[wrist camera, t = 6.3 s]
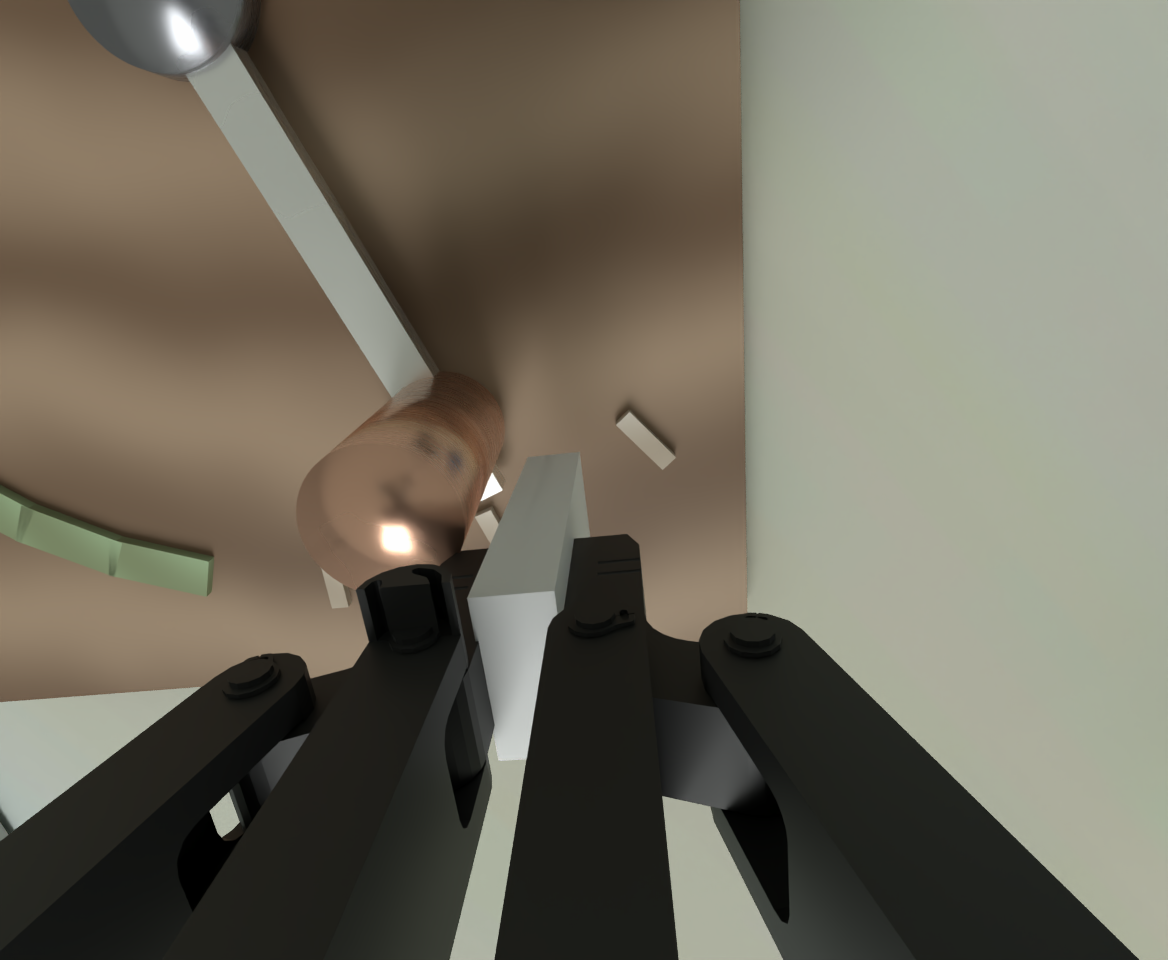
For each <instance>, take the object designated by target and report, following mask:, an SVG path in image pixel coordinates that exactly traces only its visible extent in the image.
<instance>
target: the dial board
mask: <svg viewBox="0 0 1168 960" xmlns="http://www.w3.org/2000/svg"><path fill="white" fill-rule="evenodd" d="M247 53H248V55H249V57H250V58H251V60H252V62H253V63H254V65H255V67H256V68H257V70H258V72H259V73H260V75H261V77H262V78H263V80H264V82H265V83H266V85H267V86H268V88H269V90H270V91H271V93H272V95H273V96H274V98H275V100H276V101H277V103H278V105H279V106H280V108H281V110H282V111H283V113H284V115H285V116H286V118H287V120H288V121H289V123H290V124H291V126H292V128H293V129H294V131H295V133H296V134H297V136H298V138H299V139H300V141H301V143H302V144H303V146H304V148H305V149H306V151H307V153H308V154H309V156H310V158H311V159H312V161H313V163H314V164H315V166H316V167H317V169H318V171H319V172H320V174H321V176H322V177H323V179H324V181H325V182H326V184H327V186H328V187H329V189H330V191H331V192H332V194H333V196H334V197H335V199H336V201H337V202H338V204H339V206H340V207H341V209H342V210H343V212H344V214H345V215H346V217H347V219H348V220H349V222H350V224H351V225H352V227H353V229H354V230H355V232H356V234H357V235H358V237H359V239H360V240H361V242H362V244H363V245H364V247H365V249H366V250H367V252H368V253H369V255H370V257H371V258H372V260H373V262H374V263H375V265H376V267H377V268H378V270H379V272H380V273H381V275H382V277H383V278H384V280H385V282H386V283H387V285H388V287H389V288H390V290H391V292H392V293H393V295H394V296H395V298H396V300H397V301H398V303H399V305H400V306H401V308H402V310H403V311H404V313H405V315H406V316H407V318H408V320H409V321H410V323H411V325H412V326H413V328H414V330H415V331H416V333H417V335H418V336H419V338H420V339H421V341H422V343H423V344H424V346H425V348H426V349H427V351H428V353H429V354H430V356H431V358H432V359H433V361H434V363H435V364H436V366H437V368H438V369H439V371H440V372H442V371H447V372H455V373H459V374H462V375H465V376H468V377H470V378H472V379H474V380H476V381H477V382H478V383H480V384H481V385H483V386H484V387H485V388H486V389H487V390H488V391H489V392H490V393H491V394H492V396H493V397H494V399H495V400H496V401H497V403H498V405H499V407H500V409H501V412H502V415H503V419H504V425H505V436H504V442H503V446H502V449H501V451H500V454H499V456H498V459H497V461H496V465H497V467H498V468H499V470H500V472H501V473H502V475H503V477H504V478H505V480H506V482H505V485H504V488H503V490H502V491H500V492H498V493H496V494H494V495H492V496H490V497H488V498H486V499H484V500H482V501H480V504H479V506H478V509H477V511H476V514H475V516H474V519H473V521H472V524H471V527H470V529H469V532H468V534H467V537H466V539H465V542H464V544H463V547H462V549H461V551H464V550H475V549H486V548H489V546H490V544H491V542H492V539H493V537H494V535H495V532H496V530H497V528H498V525H499V523H500V521H501V518H502V516H503V514H504V511H505V509H506V507H507V504H508V502H509V500H510V497H511V495H512V493H513V490H514V488H515V486H516V483H517V481H518V479H519V477H520V474H521V472H522V470H523V467H524V465H525V463H526V460H527V458H528V457H534V456H544V455H554V454H564V453H574V452H580V459H581V467H582V475H583V483H584V491H585V499H586V507H587V515H588V523H589V531H590V537H597V536H608V535H619V534H628V535H629V536H630V537H631V538H632V539H634V540H635V541H636V542H637V543H638V544H639V547H640V557H641V567H642V578H643V588H644V598H645V608H646V618H647V622H648V623H649V624H650V625H651V626H652V627H653V628H654V629H656V630H657V631H659V632H660V633H662V634H665V635H667V636H670V637H673V638H677V639H682V640H687V641H695V642H699V639H700V636H701V634H702V631H703V629H705V628H706V627H707V626H709V625H710V624H711V623H712V622H714V621H716V620H719V619H721V618H724V617H727V616H730V615H737V614H744V613H747V560H746V478H745V397H744V315H743V233H742V152H741V70H740V0H261V11H260V19H259V25H258V29H257V32H256V35H255V38H254V41H253V43H252V45H251V47H250V49H249V50H248V52H247ZM391 398H392V397H391V396H390V394H389V392H388V391H387V389H386V388H385V386H384V385H383V383H382V381H381V380H380V378H379V377H378V375H377V374H376V372H375V370H374V369H373V367H372V366H371V364H370V363H369V361H368V360H367V358H366V356H365V355H364V353H363V352H362V350H361V349H360V347H359V345H358V344H357V342H356V341H355V339H354V338H353V336H352V334H351V333H350V331H349V330H348V328H347V327H346V325H345V324H344V322H343V320H342V319H341V317H340V316H339V314H338V313H337V311H336V309H335V308H334V306H333V305H332V303H331V302H330V300H329V298H328V297H327V295H326V294H325V292H324V291H323V289H322V288H321V286H320V284H319V283H318V281H317V280H316V278H315V277H314V275H313V273H312V272H311V270H310V269H309V267H308V266H307V264H306V262H305V261H304V259H303V258H302V256H301V255H300V253H299V252H298V250H297V248H296V247H295V245H294V244H293V242H292V241H291V239H290V237H289V236H288V234H287V233H286V231H285V230H284V228H283V226H282V225H281V223H280V222H279V220H278V219H277V217H276V216H275V214H274V212H273V211H272V209H271V208H270V206H269V205H268V203H267V201H266V200H265V198H264V197H263V195H262V194H261V192H260V191H259V189H258V187H257V186H256V184H255V183H254V181H253V180H252V178H251V176H250V175H249V173H248V172H247V170H246V169H245V167H244V165H243V164H242V162H241V161H240V159H239V158H238V156H237V155H236V153H235V151H234V150H233V148H232V147H231V145H230V144H229V142H228V140H227V139H226V137H225V136H224V134H223V133H222V131H221V129H220V128H219V126H218V125H217V123H216V122H215V120H214V119H213V117H212V115H211V114H210V112H209V111H208V109H207V108H206V106H205V104H204V103H203V101H202V100H201V98H200V97H199V95H198V93H197V92H196V90H195V89H194V87H193V86H192V84H191V83H190V82H182V81H177V80H173V79H169V78H166V77H163V76H160V75H157V74H154V73H152V72H149V71H146V70H143V69H140V68H138V67H135V66H133V65H130V64H128V63H126V62H124V61H123V60H121V59H119V58H117V57H116V56H114V55H113V54H112V53H110V52H109V51H107V50H106V49H105V48H104V47H103V46H102V45H100V44H99V43H98V42H97V41H96V40H95V39H94V38H93V37H92V36H91V34H90V33H89V32H88V31H87V30H86V29H85V27H84V26H83V25H82V23H81V22H80V21H79V19H78V18H77V16H76V15H75V13H74V11H73V10H72V8H71V6H70V4H69V2H68V0H0V702H6V701H19V700H33V699H46V698H59V697H72V696H85V695H98V694H111V693H124V692H138V691H151V690H164V689H177V688H190V687H202V686H204V685H205V684H206V683H208V682H209V681H210V680H212V679H213V678H214V677H216V676H217V675H219V674H221V673H222V672H224V671H225V670H227V669H229V668H230V667H232V666H234V665H237V664H239V663H242V662H244V661H245V660H246V659H248V658H251V657H254V656H258V655H259V656H261V655H262V654H268V653H272V654H274V653H290V654H294V655H298V656H301V658H302V659H303V660H304V661H305V663H306V665H307V668H308V672H309V675H310V678H314V677H318V676H322V675H326V674H330V673H333V672H337V671H341V670H345V669H348V668H351V667H353V666H354V664H355V663H356V661H357V660H358V658H359V657H360V655H361V654H362V652H363V650H364V649H365V647H366V646H367V644H368V643H369V641H368V637H367V633H366V629H365V625H364V621H363V617H362V613H361V609H360V605H359V601H358V597H357V593H356V590H354V589H352V588H350V587H347V586H345V585H343V584H342V583H340V582H338V581H337V580H335V579H334V578H332V577H331V576H330V575H328V574H327V573H326V572H325V571H324V570H323V569H322V568H321V567H320V566H319V565H318V564H317V563H316V562H315V561H314V559H313V558H312V557H311V555H310V554H309V552H308V551H307V549H306V547H305V545H304V543H303V541H302V539H301V536H300V533H299V530H298V525H297V520H296V504H297V498H298V494H299V490H300V487H301V485H302V483H303V481H304V479H305V477H306V476H307V474H308V472H309V471H310V470H311V469H312V468H313V467H314V465H315V464H317V463H318V462H319V461H320V460H321V459H322V458H323V457H325V456H326V455H327V454H328V453H329V452H330V451H332V450H333V449H334V448H335V447H336V446H337V445H338V444H340V443H341V442H342V441H343V440H344V439H345V438H347V437H348V436H349V435H350V434H351V433H352V432H353V431H355V430H356V429H357V428H358V427H359V426H360V425H361V424H363V423H364V422H365V421H366V420H367V419H368V418H370V417H371V416H372V415H373V414H374V413H375V412H376V411H378V410H379V409H380V408H381V407H382V406H383V405H385V404H386V403H387V402H388V401H389V400H390V399H391Z"/></svg>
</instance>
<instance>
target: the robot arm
mask: <svg viewBox="0 0 1168 960" xmlns="http://www.w3.org/2000/svg"><path fill="white" fill-rule="evenodd" d="M356 593H357V597H358V601H359V605H360V609H361V613H362V617H363V621H364V625H365V629H366V633H367V637H368V641H369V643H368V644H367V646H366V647H365V649H364V650H363V652H362V654H361V655H360V657H359V658H358V660H357V661H356V663H355V664H354V666H353V667H351V668H348V669H345V670H341V671H337V672H333V673H330V674H326V675H322V676H318V677H314V678H310V675H309V672H308V668H307V665H306V663H305V661H304V660H303V659H302V658H301V656H298V655H294V654H290V653H274V654H272V653H268V654H262V655H261V656H259V655H258V656H254V657H251V658H248V659H246V660H245V661H244V662H242V663H239V664H237V665H234V666H232V667H230V668H229V669H227V670H225V671H224V672H222V673H221V674H219V675H217V676H216V677H214V678H213V679H212V680H210V681H209V682H208V683H206V684H205V685H204V686H202V687H201V688H200V689H198V690H197V691H196V692H195V693H193V694H192V695H191V696H189V697H188V698H187V699H185V700H184V701H183V702H181V703H180V704H179V705H178V706H176V707H175V708H174V709H172V710H171V711H170V712H168V713H167V714H166V715H164V716H163V717H162V718H161V719H159V720H158V721H157V722H155V723H154V724H153V725H151V726H150V727H149V728H147V729H146V730H145V731H144V732H142V733H141V734H140V735H138V736H137V737H136V738H134V739H133V740H132V741H130V742H129V743H128V744H127V745H125V746H124V747H123V748H121V749H120V750H119V751H117V752H116V753H115V754H113V755H112V756H111V757H110V758H108V759H107V760H106V761H104V762H103V763H102V764H100V765H99V766H98V767H96V768H95V769H94V770H93V771H91V772H90V773H89V774H87V775H86V776H85V777H83V778H82V779H81V780H79V781H78V782H77V783H76V784H74V785H73V786H72V787H70V788H69V789H68V790H66V791H65V792H64V793H62V794H61V795H60V796H59V797H57V798H56V799H55V800H53V801H52V802H51V803H49V804H48V805H47V806H45V807H44V808H43V809H42V810H40V811H39V812H38V813H36V814H35V815H34V816H32V817H31V818H30V819H28V820H27V821H26V822H25V823H23V824H22V825H21V826H19V827H18V828H17V829H15V830H14V831H13V832H11V833H10V834H9V835H8V836H6V837H5V838H4V839H2V840H1V841H0V960H449V959H450V955H451V951H452V947H453V943H454V939H455V935H456V931H457V927H458V923H459V919H460V915H461V911H462V907H463V902H464V898H465V894H466V890H467V886H468V882H469V878H470V874H471V870H472V866H473V862H474V858H475V854H476V850H477V846H478V842H479V838H480V834H481V830H482V826H483V822H484V817H485V813H486V809H487V805H488V801H489V797H490V793H491V789H492V775H491V770H490V765H489V760H488V755H487V754H488V750H489V746H490V742H491V738H492V734H494V739H495V744H496V750H497V755H498V760H499V761H505V760H520V759H527V760H526V766H525V773H524V779H523V785H522V791H521V798H520V804H519V810H518V816H517V823H516V829H515V835H514V841H513V848H512V854H511V860H510V866H509V873H508V879H507V885H506V891H505V898H504V904H503V910H502V916H501V923H500V929H499V935H498V941H497V948H496V954H495V960H678V950H677V940H676V930H675V920H674V910H673V900H672V890H671V880H670V870H669V860H668V850H667V840H666V830H665V820H664V810H663V800H662V796H665V797H670V798H674V799H679V800H684V801H688V802H693V803H697V804H702V805H707V806H711V810H712V814H713V819H714V822H715V824H716V826H717V828H718V830H719V832H720V834H721V836H722V838H723V840H724V842H725V844H726V846H727V848H728V850H729V852H730V854H731V856H732V858H733V860H734V862H735V864H736V866H737V868H738V870H739V872H740V874H741V876H742V878H743V880H744V882H745V884H746V886H747V888H748V890H749V892H750V894H751V896H752V898H753V900H754V902H755V904H756V906H757V908H758V910H759V912H760V914H761V916H762V918H763V920H764V922H765V924H766V926H767V928H768V930H769V932H770V934H771V936H772V938H773V940H774V942H775V944H776V946H777V948H778V950H779V952H780V954H781V956H782V958H783V960H1139V959H1138V958H1137V957H1136V956H1135V955H1134V954H1133V953H1132V952H1131V951H1130V950H1129V949H1128V948H1127V947H1126V946H1125V945H1124V944H1123V943H1122V942H1121V941H1120V940H1119V939H1118V938H1117V937H1116V936H1115V935H1113V934H1112V933H1111V932H1110V931H1109V930H1108V929H1107V928H1106V927H1105V926H1104V925H1103V924H1102V923H1101V922H1100V921H1099V920H1098V919H1097V918H1096V917H1095V916H1094V915H1093V914H1092V913H1091V912H1090V911H1089V910H1088V909H1087V908H1086V907H1085V906H1084V905H1083V904H1082V903H1081V902H1080V901H1079V900H1078V899H1077V898H1076V897H1075V896H1074V895H1073V894H1072V893H1071V892H1070V891H1069V890H1068V889H1067V888H1066V887H1065V886H1063V885H1062V884H1061V883H1060V882H1059V881H1058V880H1057V879H1056V878H1055V877H1054V876H1053V875H1052V874H1051V873H1050V872H1049V871H1048V870H1047V869H1046V868H1045V867H1044V866H1043V865H1042V864H1041V863H1040V862H1039V861H1038V860H1037V859H1036V858H1035V857H1034V856H1033V855H1032V854H1031V853H1030V852H1029V851H1028V850H1027V849H1026V848H1025V847H1024V846H1023V845H1022V844H1021V843H1020V842H1019V841H1018V840H1017V839H1016V838H1015V837H1013V836H1012V835H1011V834H1010V833H1009V832H1008V831H1007V830H1006V829H1005V828H1004V827H1003V826H1002V825H1001V824H1000V823H999V822H998V821H997V820H996V819H995V818H994V817H993V816H992V815H991V814H990V813H989V812H988V811H987V810H986V809H985V808H984V807H983V806H982V805H981V804H980V803H979V802H978V801H977V800H976V799H975V798H974V797H973V796H972V795H971V794H970V793H969V792H968V791H967V790H966V789H965V788H963V787H962V786H961V785H960V784H959V783H958V782H957V781H956V780H955V779H954V778H953V777H952V776H951V775H950V774H949V773H948V772H947V771H946V770H945V769H944V768H943V767H942V766H941V765H940V764H939V763H938V762H937V761H936V760H935V759H934V758H933V757H932V756H931V755H930V754H929V753H928V752H927V751H926V750H925V749H924V748H923V747H922V746H921V745H920V744H919V743H918V742H917V741H916V740H915V739H913V738H912V737H911V736H910V735H909V734H908V733H907V732H906V731H905V730H904V729H903V728H902V727H901V726H900V725H899V724H898V723H897V722H896V721H895V720H894V719H893V718H892V717H891V716H890V715H889V714H888V713H887V712H886V711H885V710H884V709H883V708H882V707H881V706H880V705H879V704H878V703H877V702H876V701H875V700H874V699H873V698H872V697H871V696H870V695H869V694H868V693H867V692H866V691H865V690H863V689H862V688H861V687H860V686H859V685H858V684H857V683H856V682H855V681H854V680H853V679H852V678H851V677H850V676H849V675H848V674H847V673H846V672H845V671H844V670H843V669H842V668H841V667H840V666H839V665H838V664H837V663H836V662H835V661H834V660H833V659H832V658H831V657H830V656H829V655H828V654H827V653H826V652H825V651H824V650H823V649H822V648H821V647H820V646H819V645H818V644H817V643H816V642H815V641H813V640H812V639H811V638H810V637H809V636H808V635H807V634H806V633H805V632H804V631H803V630H802V629H801V628H799V627H798V626H796V625H795V624H793V623H792V622H790V621H788V620H785V619H782V618H779V617H776V616H773V615H769V614H762V613H759V614H756V613H744V614H737V615H730V616H727V617H724V618H721V619H719V620H716V621H714V622H712V623H711V624H710V625H709V626H707V627H706V628H705V629H703V631H702V634H701V636H700V639H699V642H695V641H687V640H682V639H677V638H673V637H670V636H667V635H665V634H662V633H660V632H659V631H657V630H656V629H654V628H653V627H652V626H651V625H650V624H649V623H648V622H647V618H646V608H645V598H644V588H643V578H642V567H641V557H640V547H639V544H638V543H637V542H636V541H635V540H634V539H632V538H631V537H630V536H629V535H628V534H619V535H608V536H597V537H590V531H589V523H588V515H587V507H586V499H585V491H584V483H583V475H582V467H581V459H580V452H574V453H564V454H554V455H544V456H534V457H528V458H527V460H526V463H525V465H524V467H523V470H522V472H521V474H520V477H519V479H518V481H517V483H516V486H515V488H514V490H513V493H512V495H511V497H510V500H509V502H508V504H507V507H506V509H505V511H504V514H503V516H502V518H501V521H500V523H499V525H498V528H497V530H496V532H495V535H494V537H493V539H492V542H491V544H490V546H489V548H486V549H475V550H464V551H460V553H455V554H454V555H452V556H451V557H450V558H448V559H447V560H446V561H444V562H443V563H442V564H441V565H440V566H437V565H434V564H415V565H409V566H403V567H398V568H395V569H392V570H388V571H385V572H382V573H380V574H378V575H376V576H374V577H372V578H370V579H368V580H366V581H365V582H364V583H363V584H362V585H360V586H359V587H358V588H357V589H356ZM228 792H229V793H230V796H231V799H232V802H233V804H234V807H235V810H236V813H237V815H238V818H239V821H240V823H239V824H238V825H237V826H236V827H235V828H234V829H233V830H232V831H230V832H229V833H228V834H226V835H225V836H223V837H222V838H221V836H220V835H219V834H218V833H217V830H216V828H215V825H214V822H213V820H212V817H211V814H210V812H209V811H210V810H211V809H212V808H213V807H214V806H215V805H216V804H217V803H218V802H219V801H220V800H221V799H222V798H223V797H224V796H225V795H226V794H227V793H228Z"/></svg>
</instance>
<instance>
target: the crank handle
mask: <svg viewBox="0 0 1168 960" xmlns="http://www.w3.org/2000/svg"><path fill="white" fill-rule="evenodd" d="M68 2H69V4H70V6H71V8H72V10H73V11H74V13H75V15H76V16H77V18H78V19H79V21H80V22H81V23H82V25H83V26H84V27H85V29H86V30H87V31H88V32H89V33H90V34H91V36H92V37H93V38H94V39H95V40H96V41H97V42H98V43H99V44H100V45H102V46H103V47H104V48H105V49H106V50H107V51H109V52H110V53H112V54H113V55H114V56H116V57H117V58H119V59H121V60H123V61H124V62H126V63H128V64H130V65H133V66H135V67H138V68H140V69H143V70H146V71H149V72H152V73H154V74H157V75H160V76H163V77H166V78H169V79H173V80H177V81H182V82H190V83H191V84H192V86H193V87H194V89H195V90H196V92H197V93H198V95H199V97H200V98H201V100H202V101H203V103H204V104H205V106H206V108H207V109H208V111H209V112H210V114H211V115H212V117H213V119H214V120H215V122H216V123H217V125H218V126H219V128H220V129H221V131H222V133H223V134H224V136H225V137H226V139H227V140H228V142H229V144H230V145H231V147H232V148H233V150H234V151H235V153H236V155H237V156H238V158H239V159H240V161H241V162H242V164H243V165H244V167H245V169H246V170H247V172H248V173H249V175H250V176H251V178H252V180H253V181H254V183H255V184H256V186H257V187H258V189H259V191H260V192H261V194H262V195H263V197H264V198H265V200H266V201H267V203H268V205H269V206H270V208H271V209H272V211H273V212H274V214H275V216H276V217H277V219H278V220H279V222H280V223H281V225H282V226H283V228H284V230H285V231H286V233H287V234H288V236H289V237H290V239H291V241H292V242H293V244H294V245H295V247H296V248H297V250H298V252H299V253H300V255H301V256H302V258H303V259H304V261H305V262H306V264H307V266H308V267H309V269H310V270H311V272H312V273H313V275H314V277H315V278H316V280H317V281H318V283H319V284H320V286H321V288H322V289H323V291H324V292H325V294H326V295H327V297H328V298H329V300H330V302H331V303H332V305H333V306H334V308H335V309H336V311H337V313H338V314H339V316H340V317H341V319H342V320H343V322H344V324H345V325H346V327H347V328H348V330H349V331H350V333H351V334H352V336H353V338H354V339H355V341H356V342H357V344H358V345H359V347H360V349H361V350H362V352H363V353H364V355H365V356H366V358H367V360H368V361H369V363H370V364H371V366H372V367H373V369H374V370H375V372H376V374H377V375H378V377H379V378H380V380H381V381H382V383H383V385H384V386H385V388H386V389H387V391H388V392H389V394H390V396H391V397H392V398H391V399H390V400H389V401H388V402H387V403H386V404H385V405H383V406H382V407H381V408H380V409H379V410H378V411H376V412H375V413H374V414H373V415H372V416H371V417H370V418H368V419H367V420H366V421H365V422H364V423H363V424H361V425H360V426H359V427H358V428H357V429H356V430H355V431H353V432H352V433H351V434H350V435H349V436H348V437H347V438H345V439H344V440H343V441H342V442H341V443H340V444H338V445H337V446H336V447H335V448H334V449H333V450H332V451H330V452H329V453H328V454H327V455H326V456H325V457H323V458H322V459H321V460H320V461H319V462H318V463H317V464H315V465H314V467H313V468H312V469H311V470H310V471H309V472H308V474H307V476H306V477H305V479H304V481H303V483H302V485H301V487H300V490H299V494H298V498H297V504H296V520H297V525H298V530H299V533H300V536H301V539H302V541H303V543H304V545H305V547H306V549H307V551H308V552H309V554H310V555H311V557H312V558H313V559H314V561H315V562H316V563H317V564H318V565H319V566H320V567H321V568H322V569H323V570H324V571H325V572H326V573H327V574H328V575H330V576H331V577H332V578H334V579H335V580H337V581H338V582H340V583H342V584H343V585H345V586H347V587H350V588H352V589H354V590H356V589H357V588H358V587H359V586H360V585H362V584H363V583H364V582H365V581H366V580H368V579H370V578H372V577H374V576H376V575H378V574H380V573H382V572H385V571H388V570H392V569H395V568H398V567H403V566H409V565H415V564H434V565H437V566H440V565H441V564H442V563H443V562H444V561H446V560H447V559H448V558H450V557H451V556H452V555H454V554H455V553H460V551H461V549H462V547H463V544H464V542H465V539H466V537H467V534H468V532H469V529H470V527H471V524H472V521H473V519H474V516H475V514H476V511H477V509H478V506H479V504H480V501H482V500H484V499H486V498H488V497H490V496H492V495H494V494H496V493H498V492H500V491H502V490H503V488H504V485H505V482H506V480H505V478H504V477H503V475H502V473H501V472H500V470H499V468H498V467H497V465H496V461H497V459H498V456H499V454H500V451H501V449H502V446H503V442H504V436H505V425H504V419H503V415H502V412H501V409H500V407H499V405H498V403H497V401H496V400H495V399H494V397H493V396H492V394H491V393H490V392H489V391H488V390H487V389H486V388H485V387H484V386H483V385H481V384H480V383H478V382H477V381H476V380H474V379H472V378H470V377H468V376H465V375H462V374H459V373H455V372H447V371H442V372H440V371H439V369H438V368H437V366H436V364H435V363H434V361H433V359H432V358H431V356H430V354H429V353H428V351H427V349H426V348H425V346H424V344H423V343H422V341H421V339H420V338H419V336H418V335H417V333H416V331H415V330H414V328H413V326H412V325H411V323H410V321H409V320H408V318H407V316H406V315H405V313H404V311H403V310H402V308H401V306H400V305H399V303H398V301H397V300H396V298H395V296H394V295H393V293H392V292H391V290H390V288H389V287H388V285H387V283H386V282H385V280H384V278H383V277H382V275H381V273H380V272H379V270H378V268H377V267H376V265H375V263H374V262H373V260H372V258H371V257H370V255H369V253H368V252H367V250H366V249H365V247H364V245H363V244H362V242H361V240H360V239H359V237H358V235H357V234H356V232H355V230H354V229H353V227H352V225H351V224H350V222H349V220H348V219H347V217H346V215H345V214H344V212H343V210H342V209H341V207H340V206H339V204H338V202H337V201H336V199H335V197H334V196H333V194H332V192H331V191H330V189H329V187H328V186H327V184H326V182H325V181H324V179H323V177H322V176H321V174H320V172H319V171H318V169H317V167H316V166H315V164H314V163H313V161H312V159H311V158H310V156H309V154H308V153H307V151H306V149H305V148H304V146H303V144H302V143H301V141H300V139H299V138H298V136H297V134H296V133H295V131H294V129H293V128H292V126H291V124H290V123H289V121H288V120H287V118H286V116H285V115H284V113H283V111H282V110H281V108H280V106H279V105H278V103H277V101H276V100H275V98H274V96H273V95H272V93H271V91H270V90H269V88H268V86H267V85H266V83H265V82H264V80H263V78H262V77H261V75H260V73H259V72H258V70H257V68H256V67H255V65H254V63H253V62H252V60H251V58H250V57H249V55H248V53H247V52H248V50H249V49H250V47H251V45H252V43H253V41H254V38H255V35H256V32H257V29H258V25H259V19H260V11H261V0H68Z"/></svg>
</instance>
